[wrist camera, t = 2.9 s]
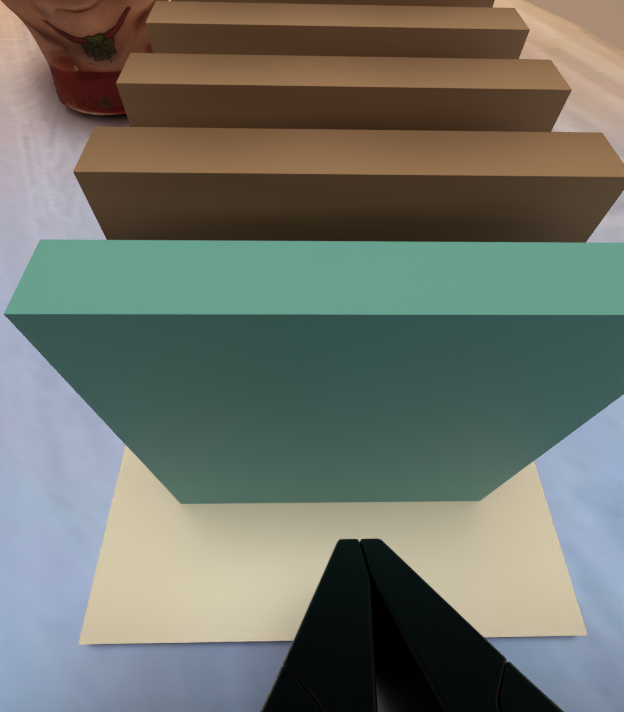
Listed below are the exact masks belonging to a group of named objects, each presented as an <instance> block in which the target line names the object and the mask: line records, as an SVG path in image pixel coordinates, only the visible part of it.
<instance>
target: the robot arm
mask: <svg viewBox="0 0 624 712" xmlns="http://www.w3.org/2000/svg"><path fill="white" fill-rule="evenodd" d="M260 712H564V711H563V710H562V709H560V708H559V707H558V706H557V705H556V704H555V703H554V702H553V701H552V700H551V699H549V698H548V697H547V696H546V695H545V694H544V693H543V692H542V691H541V690H540V689H538V688H537V687H536V686H535V685H534V684H533V683H532V682H531V681H530V680H529V679H528V678H527V677H525V676H524V675H523V674H522V673H521V672H520V671H519V670H518V669H517V668H516V667H515V666H514V665H513V664H512V663H511V662H507V660H506V658H505V657H504V656H503V655H502V654H501V653H500V652H499V651H498V650H497V649H496V648H495V647H494V646H493V645H492V644H491V643H490V642H488V641H487V640H486V639H485V638H484V637H483V636H482V635H481V634H480V633H479V632H478V631H477V630H476V629H475V628H474V627H473V626H472V625H471V624H470V623H469V622H467V621H466V620H465V619H464V618H463V617H462V616H461V615H460V614H459V613H458V612H457V611H456V610H455V609H454V608H453V607H452V606H451V605H450V604H449V603H448V602H446V601H445V600H444V599H443V598H442V597H441V596H440V595H439V594H438V593H437V592H436V591H435V590H434V589H433V588H432V587H431V586H430V585H429V584H428V583H427V582H425V581H424V580H423V579H422V578H421V577H420V576H419V575H418V574H417V573H416V572H415V571H414V570H413V569H412V568H411V567H410V566H409V565H408V564H407V563H406V562H404V561H403V560H402V559H401V558H400V557H399V556H398V555H397V554H396V553H395V552H394V551H393V550H392V549H391V548H390V547H389V546H388V545H387V544H386V543H385V542H383V541H382V540H381V539H378V538H374V539H361V540H360V542H359V540H358V539H339V540H338V541H337V543H336V546H335V548H334V550H333V552H332V555H331V557H330V559H329V561H328V564H327V566H326V568H325V570H324V573H323V575H322V577H321V579H320V582H319V584H318V586H317V588H316V591H315V593H314V595H313V597H312V600H311V602H310V604H309V606H308V609H307V611H306V613H305V615H304V618H303V620H302V622H301V624H300V627H299V629H298V631H297V633H296V636H295V638H294V640H293V642H292V645H291V647H290V649H289V651H288V654H287V656H286V658H285V660H284V663H283V666H282V667H281V669H280V671H279V673H278V675H277V678H276V680H275V682H274V684H273V687H272V689H271V691H270V693H269V695H268V697H267V699H266V701H265V703H264V705H263V707H262V709H261V711H260Z"/></svg>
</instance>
